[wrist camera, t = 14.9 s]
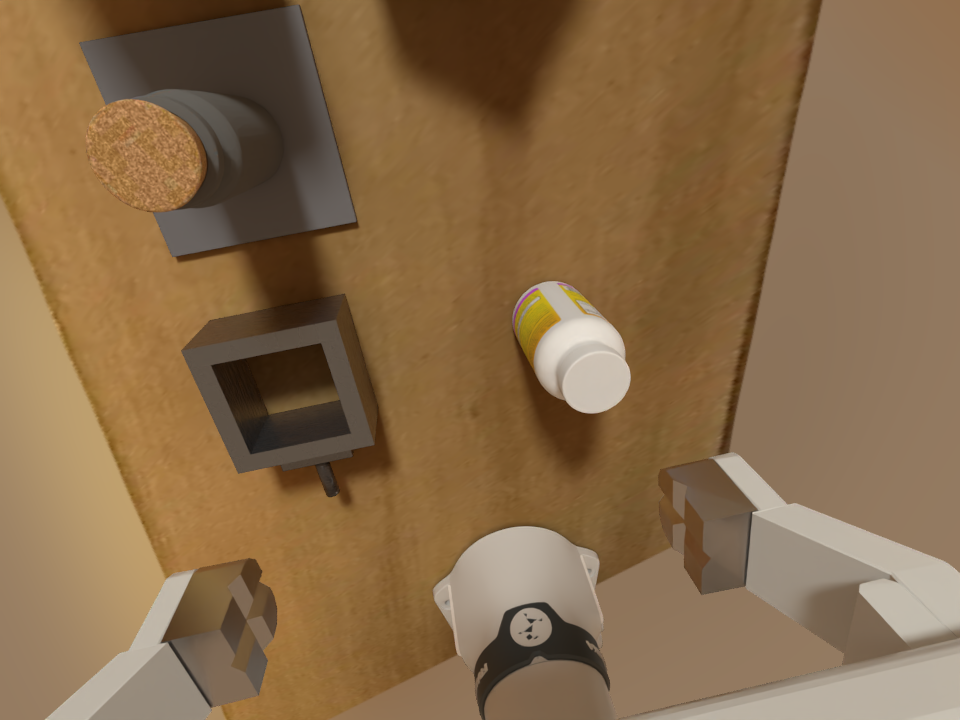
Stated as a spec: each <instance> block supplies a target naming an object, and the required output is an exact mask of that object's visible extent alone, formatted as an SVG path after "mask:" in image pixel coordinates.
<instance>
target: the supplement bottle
mask: <svg viewBox="0 0 960 720" xmlns="http://www.w3.org/2000/svg"><path fill="white" fill-rule="evenodd" d="M512 324H513V329H514V333H515V335H516V337H517V340H518V341H519V343H520V345H521V347H522V349H523V351H524V353H525V355H526V357H527V359H528V361H529V363H530V365H531V367H532V369H533V371H534V373H535V374H536V376H537V378H538V380H539V382H540V383H541V385H542V386H543V388H544V389H545V390H546V391H547V392H549V393H550V394H551V395H553V396H555V397H556V398H559V399H561V400H565V401H566V402H567V403H568V404H569V405H570V406H571V407H572V408H573V409H575V410H577V411H579V412H583V413H600V412H603V411H606V410H608V409H610V408H612V407H613V406H615V405H616V404H617V403H618V402H620V401H621V400H622V398H623V397H624V396H625V394H626V392H627V390H628V388H629V385H630V379H631V376H630V370H629V367H628V365H627V363H626V362H625V347H624V343H623V340H622V338H621V336H620V334H619V333H618V332H617V330H616V329H615V328H614V327H613V326H612V325H611V324H610V323H609V322H608V321H607V320H606V319H605V318H604V317H603V316H602V315H601V314H600V313H599V312H598V311H597V310H596V309H595V308H594V307H593V306H592V305H591V304H590V303H589V302H588V301H587V300H586V299H585V298H584V297H583V296H582V294H580V293H579V292H578V291H577V290H576V289H575V288H573V287H572V286H570V285H568V284H565V283H562V282H556V281H550V282H543V283H540V284H537V285H535V286H533V287H532V288H530V289H529V290H527V291H526V292H525V293H524V294H523V295H522V296H521V298H520V299H519V300H518V302H517V304H516V306H515V309H514V312H513V318H512Z"/></svg>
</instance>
